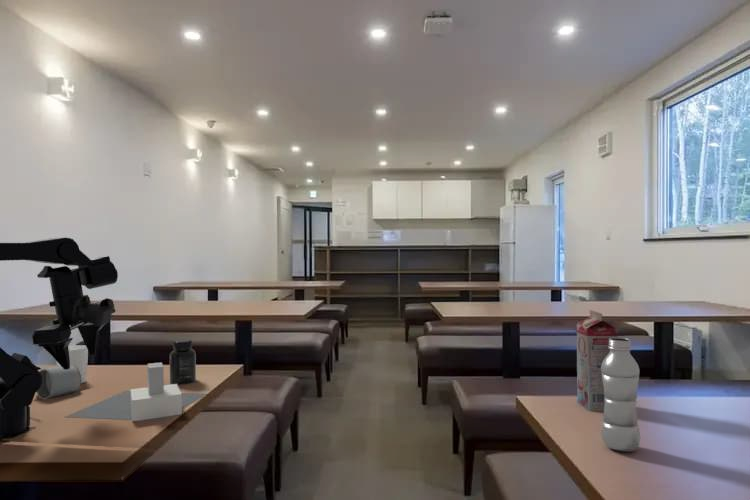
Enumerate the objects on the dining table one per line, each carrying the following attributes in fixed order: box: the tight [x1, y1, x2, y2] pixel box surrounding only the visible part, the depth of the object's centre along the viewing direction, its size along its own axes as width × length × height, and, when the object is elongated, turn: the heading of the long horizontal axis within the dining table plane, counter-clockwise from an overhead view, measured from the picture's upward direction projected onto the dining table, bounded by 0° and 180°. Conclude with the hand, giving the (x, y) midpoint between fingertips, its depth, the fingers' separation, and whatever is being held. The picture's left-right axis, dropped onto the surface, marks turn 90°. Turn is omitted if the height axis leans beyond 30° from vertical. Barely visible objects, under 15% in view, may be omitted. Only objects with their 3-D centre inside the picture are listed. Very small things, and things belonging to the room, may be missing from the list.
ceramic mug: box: [36, 366, 82, 400], centre depth 131 cm, size 11×8×8 cm
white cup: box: [55, 344, 89, 384], centre depth 143 cm, size 8×8×10 cm
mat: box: [65, 390, 208, 422], centre depth 120 cm, size 21×23×1 cm
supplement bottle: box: [169, 338, 197, 386], centre depth 142 cm, size 7×7×12 cm
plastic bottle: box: [600, 337, 641, 452], centre depth 92 cm, size 6×7×20 cm
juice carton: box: [576, 309, 618, 412], centre depth 118 cm, size 7×7×22 cm
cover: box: [129, 362, 183, 422], centre depth 115 cm, size 10×10×10 cm
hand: (80, 361), depth 114 cm, fingers open, 9 cm apart
